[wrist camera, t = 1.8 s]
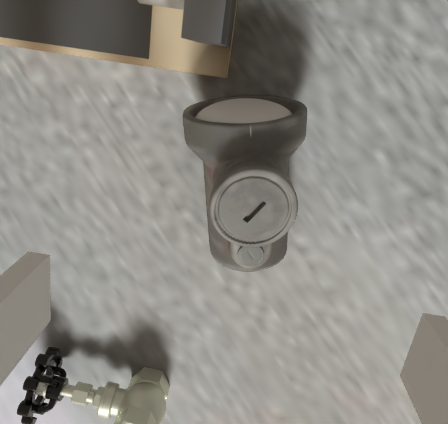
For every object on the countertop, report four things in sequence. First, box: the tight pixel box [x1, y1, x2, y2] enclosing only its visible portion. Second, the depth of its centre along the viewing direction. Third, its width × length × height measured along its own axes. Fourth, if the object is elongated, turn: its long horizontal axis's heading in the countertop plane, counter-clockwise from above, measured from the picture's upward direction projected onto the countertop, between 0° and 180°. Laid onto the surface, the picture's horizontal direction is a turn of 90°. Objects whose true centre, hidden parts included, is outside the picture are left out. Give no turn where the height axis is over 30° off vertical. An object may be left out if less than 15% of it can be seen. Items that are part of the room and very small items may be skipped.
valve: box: [17, 347, 170, 424], centre depth 38 cm, size 7×7×12 cm
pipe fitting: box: [183, 95, 307, 272], centre depth 28 cm, size 12×8×10 cm
